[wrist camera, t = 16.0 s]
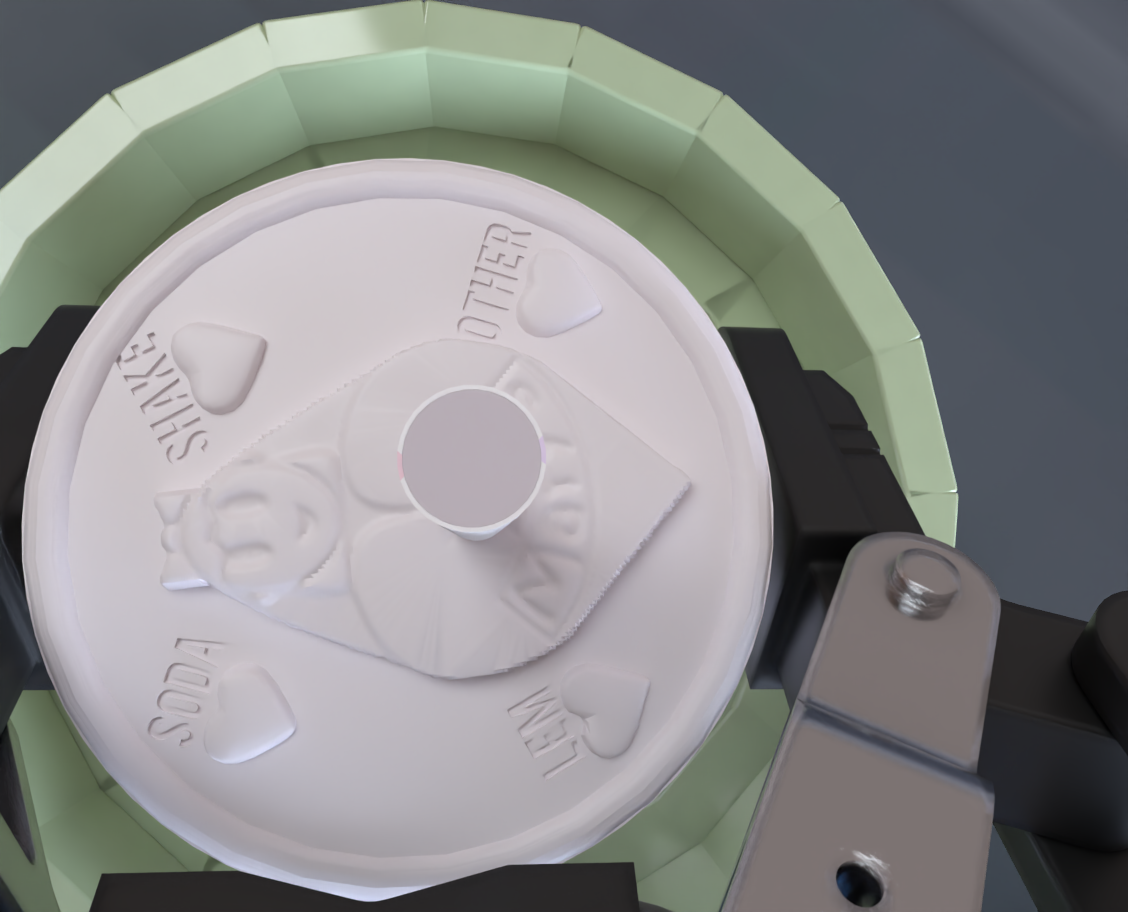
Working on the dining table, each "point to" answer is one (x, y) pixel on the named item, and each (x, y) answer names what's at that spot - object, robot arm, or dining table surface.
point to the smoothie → (397, 528)
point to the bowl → (512, 145)
